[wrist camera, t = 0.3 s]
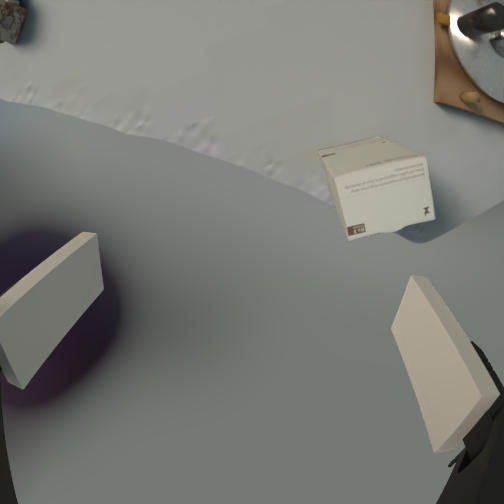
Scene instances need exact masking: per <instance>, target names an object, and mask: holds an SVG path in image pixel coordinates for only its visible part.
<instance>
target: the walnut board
mask: <svg viewBox="0 0 504 504" xmlns="http://www.w3.org/2000/svg"><path fill="white" fill-rule="evenodd" d="M449 1H450V0H433V6H434V24H435V86H434V102H435V103H439V104H443V105H446V106H450V107H453V108H457V109H460V110H463V111H466V112H469V113H473V114H476V115H479V116H482V117H484V118H487V119H490V120H493V121H496V122H498V123H501V124H504V104H503V103H500V102H497V101H495V100H493V99H491V98H489V97H488V96H486V95H485V94H483V93H482V92H481V91H480V90H479V89H478V88H477V87H476V86H475V85H474V84H473V83H472V82H471V81H470V80H469V78H468V77H467V76H466V74H465V73H464V72H463V70H462V68H461V67H460V65H459V63H458V62H457V60H456V58H455V56H454V53H453V51H452V48H451V46H450V43H449V39H448V35H447V31H446V26H444V25H441V24H438V23H437V17H436V13H438V12H441V13H443V14H446V9H447V6H448V3H449Z"/></svg>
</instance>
